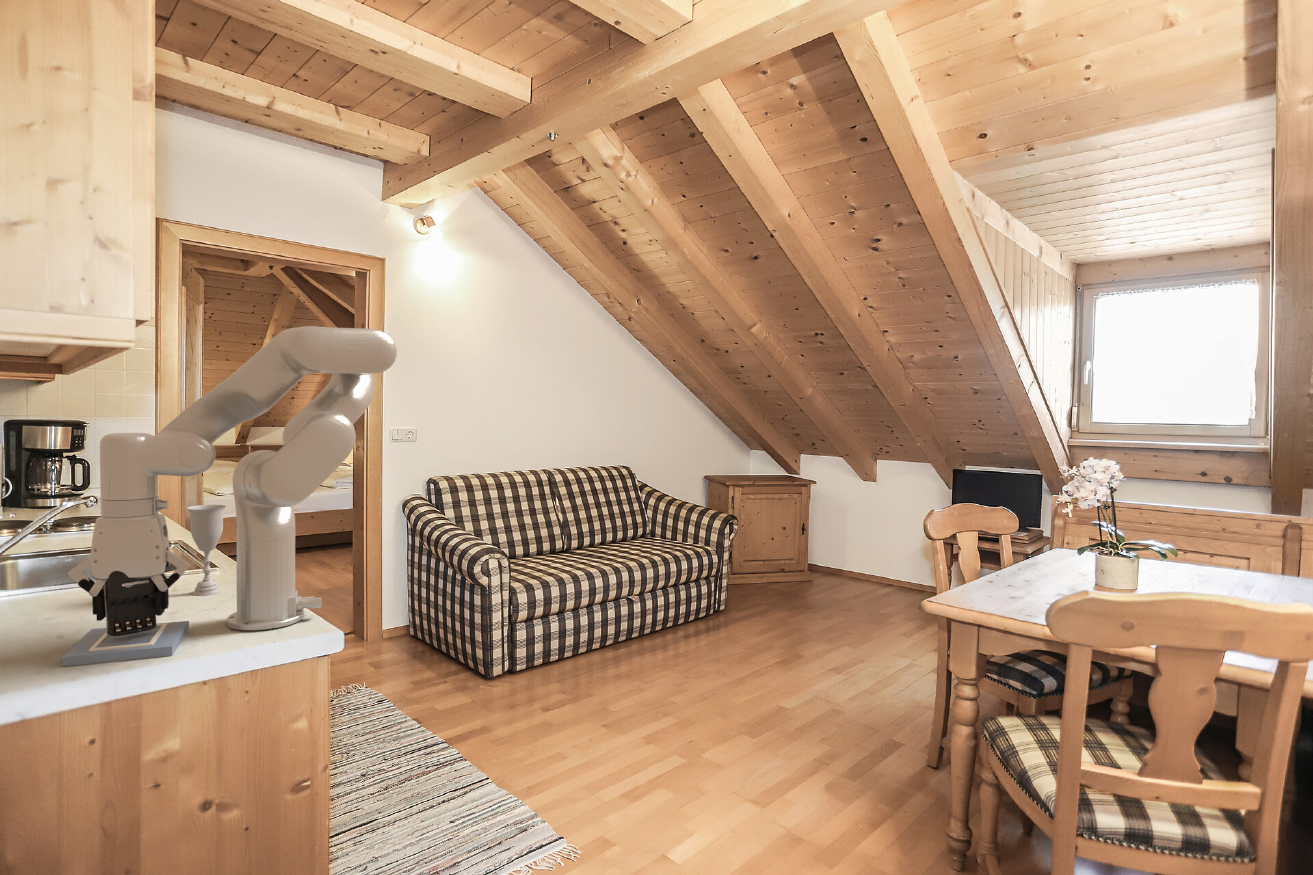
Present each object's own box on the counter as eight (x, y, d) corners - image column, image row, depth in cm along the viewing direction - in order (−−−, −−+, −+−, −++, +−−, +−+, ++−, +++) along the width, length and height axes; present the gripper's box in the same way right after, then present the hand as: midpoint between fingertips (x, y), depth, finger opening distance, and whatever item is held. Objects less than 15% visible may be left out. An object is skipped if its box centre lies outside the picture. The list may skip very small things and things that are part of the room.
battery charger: (109, 640, 114) (108, 569, 113) (103, 634, 116) (102, 565, 116) (161, 630, 119) (160, 562, 118) (154, 625, 121) (153, 558, 121)
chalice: (184, 591, 150) (184, 506, 150) (221, 586, 155) (221, 503, 154) (191, 598, 145) (190, 510, 144) (229, 593, 150) (229, 508, 149)
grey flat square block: (189, 629, 127) (188, 619, 127) (172, 655, 114) (172, 644, 114) (91, 637, 121) (91, 627, 121) (62, 666, 108) (62, 654, 108)
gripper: (196, 503, 123) (197, 604, 124) (71, 507, 116) (73, 614, 117) (188, 510, 117) (189, 617, 118) (54, 514, 109) (57, 628, 110)
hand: (131, 615), depth 117 cm, fingers closed on battery charger, 7 cm apart
